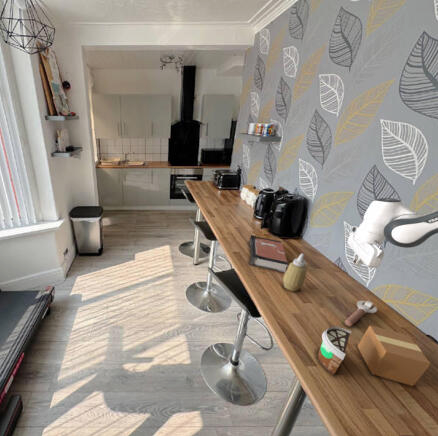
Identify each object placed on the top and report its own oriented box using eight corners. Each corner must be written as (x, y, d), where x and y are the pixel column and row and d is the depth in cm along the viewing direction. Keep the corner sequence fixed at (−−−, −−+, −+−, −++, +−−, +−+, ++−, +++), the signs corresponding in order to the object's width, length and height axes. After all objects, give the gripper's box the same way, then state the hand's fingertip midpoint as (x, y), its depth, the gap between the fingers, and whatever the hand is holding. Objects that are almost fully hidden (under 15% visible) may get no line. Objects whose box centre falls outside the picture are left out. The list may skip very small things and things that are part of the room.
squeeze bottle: (300, 296, 103) (313, 261, 95) (280, 288, 107) (291, 255, 99) (301, 285, 109) (313, 252, 102) (281, 279, 113) (292, 247, 106)
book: (287, 272, 118) (290, 264, 116) (250, 264, 123) (252, 256, 121) (280, 248, 140) (282, 240, 138) (249, 242, 146) (251, 235, 144)
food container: (318, 340, 82) (328, 319, 78) (340, 352, 78) (351, 330, 74) (309, 363, 74) (319, 341, 70) (332, 378, 70) (345, 355, 66)
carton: (393, 356, 78) (408, 334, 73) (413, 386, 69) (431, 363, 65) (357, 346, 81) (369, 325, 76) (371, 373, 72) (386, 351, 68)
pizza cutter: (355, 333, 86) (358, 327, 85) (337, 321, 91) (339, 316, 90) (377, 311, 96) (380, 305, 95) (359, 301, 101) (362, 296, 99)
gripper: (394, 250, 86) (377, 280, 91) (367, 227, 103) (354, 254, 109) (373, 246, 87) (358, 276, 93) (350, 224, 105) (339, 251, 111)
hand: (356, 264), depth 101 cm, fingers closed
